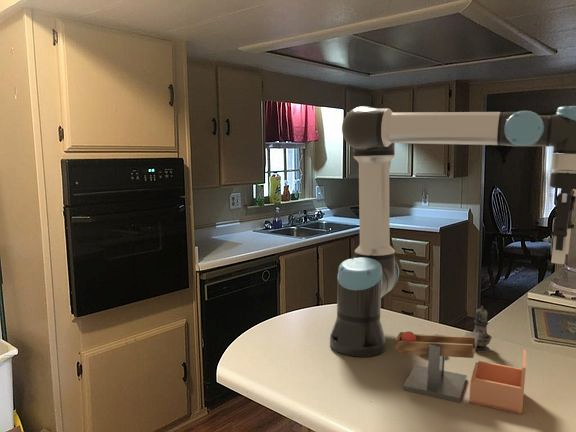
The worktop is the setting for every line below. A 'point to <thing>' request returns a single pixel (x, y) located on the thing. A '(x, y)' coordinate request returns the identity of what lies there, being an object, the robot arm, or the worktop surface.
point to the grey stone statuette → (482, 330)
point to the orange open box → (498, 386)
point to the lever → (440, 344)
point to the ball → (408, 336)
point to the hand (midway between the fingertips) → (560, 258)
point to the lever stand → (435, 378)
